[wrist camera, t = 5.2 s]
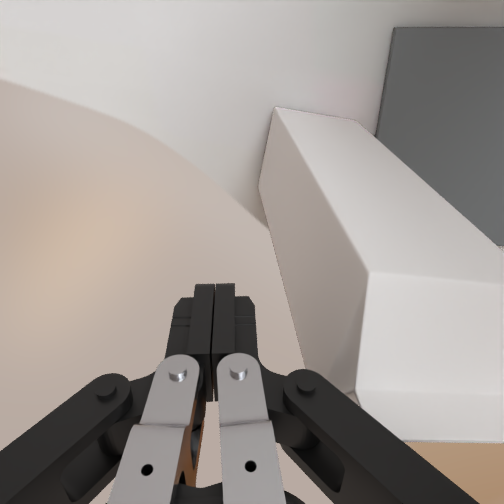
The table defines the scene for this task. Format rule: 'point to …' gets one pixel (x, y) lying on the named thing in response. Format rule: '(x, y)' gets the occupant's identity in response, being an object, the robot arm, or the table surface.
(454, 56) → the mat
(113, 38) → the table surface
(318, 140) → the milk
